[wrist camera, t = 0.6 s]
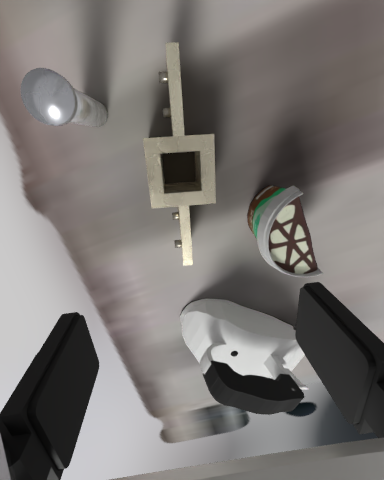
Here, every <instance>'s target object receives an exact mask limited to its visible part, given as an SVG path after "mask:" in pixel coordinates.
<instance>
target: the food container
mask: <svg viewBox="0 0 384 480" xmlns="http://www.w3.org/2000/svg"><path fill="white" fill-rule="evenodd" d="M302 194H303V193H302V192H300V190H299V189H298V188H296V187H295V186H294V185H293V186H291V187H289V188H287V189H286V188H281V187H277V186H272V185H269V186H267V187H266V188H264V189H262V190H261V191H260V192H259V193H258V194H257V195H256V196H255V197H254V199H253V201H252V202H251V204H250V206H249V210H248V214H247V218H248V225H249V227H250V229H251V231H252V232H253V234H254V235H255V237H256V238H257V244H258V247H259V251H260V253H261V255H262V257H263V258H264V259H265V261H266V262H267V263H268V264H269V265H271V266H272V267H274V268H275V269H277V270H279V271H280V272H282V273H284V274H287V275H291V276H295V277H313V276H317V275H320V274H323V272H321V271H320V270H319V269H318V267H317V263H316V261H315V257H314V253H313V248H312V242H311V236H310V233H309V230H308V227H307V224H306V220H305V217H304V213H303V210H302V206H301V202H300V198H299V196H300V195H302Z"/></svg>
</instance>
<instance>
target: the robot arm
mask: <svg viewBox="0 0 384 480" xmlns="http://www.w3.org/2000/svg"><path fill="white" fill-rule="evenodd" d="M295 337H296V341H297V343H298V345H299V346H300V348H301V349H302V351H303V352H304V354H305V356H306V357H307V359H308V360H309V362H310V364H311V365H312V367H313V368H314V370H315V372H316V373H317V375H318V376H319V378H320V379H321V381H322V383H323V384H324V386H325V387H326V389H327V391H328V392H329V394H330V395H331V397H332V399H333V400H334V402H335V403H336V405H337V407H338V408H339V409H340V411H341V413H342V414H343V416H344V418H345V419H346V421H347V422H348V423H349V424H353V425H354V427H355V428H356V430H357V431H358V433H359V434H365V433H372V432H374V433H375V434H376V436H377V437H378V438H377V439H370V440H362V441H354V442H346V443H339V444H332V445H326V446H319V447H313V448H306V449H299V450H293V451H286V452H280V453H273V454H267V455H260V456H255V457H247V458H241V459H235V460H229V461H222V462H216V463H209V464H203V465H197V466H190V467H184V468H178V469H172V470H166V471H159V472H153V473H147V474H142V475H135V476H130V477H123V478H117V479H111V480H384V343H383V342H382V341H381V340H380V339H379V338H378V337H377V336H376V335H375V334H374V333H372V332H371V331H370V330H369V329H368V328H367V327H366V326H365V325H364V324H363V323H362V322H361V321H360V320H359V319H358V318H357V317H356V316H355V315H354V314H353V313H351V312H350V311H349V310H348V309H347V308H346V307H345V306H344V305H343V304H342V303H341V302H340V301H339V300H338V299H337V298H336V297H335V296H334V295H333V294H332V293H330V292H329V291H328V290H327V289H326V288H325V287H324V286H323V285H322V284H321V283H319V282H315V283H307V284H305V285H304V287H303V288H301V289H300V295H299V304H298V313H297V323H296V332H295ZM98 369H99V360H98V357H97V354H96V351H95V348H94V345H93V342H92V339H91V336H90V333H89V330H88V327H87V324H86V321H85V318H84V316H83V315H80V314H79V313H77V312H75V313H68V314H62V315H61V317H60V318H59V320H58V322H57V323H56V325H55V326H54V328H53V330H52V331H51V333H50V335H49V337H48V338H47V340H46V341H45V343H44V344H43V346H42V348H41V350H40V351H39V352H38V354H37V355H36V356H35V358H34V359H33V361H32V363H31V364H30V366H29V368H28V369H27V371H26V372H25V374H24V376H23V377H22V379H21V380H20V382H19V384H18V385H17V387H16V389H15V390H14V392H13V393H12V395H11V397H10V398H9V400H8V402H7V403H6V405H5V406H4V408H3V410H2V411H1V413H0V480H60V479H61V476H62V473H63V470H64V469H65V468H67V467H68V466H69V464H70V461H71V458H72V455H73V452H74V448H75V445H76V442H77V438H78V435H79V432H80V429H81V425H82V422H83V419H84V416H85V413H86V409H87V406H88V403H89V399H90V396H91V393H92V389H93V386H94V383H95V380H96V376H97V373H98Z"/></svg>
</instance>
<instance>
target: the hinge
mask: <svg viewBox="0 0 384 480" xmlns="http://www.w3.org/2000/svg"><path fill="white" fill-rule="evenodd" d="M166 65H167V72H159V80H160V83H168V89H169V102H170V108H163V118H167V117H171V126H172V137H157V138H143V143H144V151H145V159H146V167H147V174H148V182H149V190H150V198H151V206H152V208H163V207H176V206H178V210H179V212H175V213H172V215H173V220H176V219H179V222H180V235H181V240H175V248H178V247H182V255H183V263H184V265H193V259H192V244H191V228H190V213H189V205H201V204H213V203H216V195H215V144H214V134H205V135H189V136H185V135H184V120H183V104H182V89H181V73H180V58H179V42H177V43H166ZM189 151H194V158H195V177H196V181H193V182H180V183H166V184H165V179H164V169H163V159H162V153H174V152H189Z"/></svg>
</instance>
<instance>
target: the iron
mask: <svg viewBox="0 0 384 480" xmlns="http://www.w3.org/2000/svg"><path fill="white" fill-rule="evenodd" d="M180 320H181V323H182V335H183V337H184V340H185V343H186V344H187V346H188V347H189V349H190V350H191V351H192V353H193V354H194V356H195V357H196V359H197V360H198V362H199V363H200V367H201V369H202V372H203V377H204V379H205V382H206V384H207V387H208V389H209V391H210V393H211V395H212V396H213V398H214V399H215V400H216V401H217V402H219V403H221V404H223V405H226V406H232V407H235V408H239V409H242V410H245V411H249V412H252V413H256V414H274V413H279V412H288V411H292V410H293V409H294V408H295V407H296V406H297V405H298V404H299V403H300V402H301V400H302V399H303V398H304V393H303V392H302V390H301V389H303V390H305V389H309V388H308V387H306V386H305V385H304V384H302V383H301V382H300V381H299V380H298V379H297V378H296V377H295V376H294V375H293V374H292V372H291V371H292V370H293V369H294V367H295V366H296V365H297V364H298V362H299V361H300V360H301V359H302V358H303V356H304V355H305V354H304V352H303V351H302V349H301V348H300V346H299V345H298V343H297V341H296V337H295V332H296V330H294V329H293V326H291V325H289V324H287V323H285V322H283V321H281V320H279V319H277V318H275V317H273V316H270V315H267V314H265V313H262V312H259V311H256V310H253V309H250V308H246V307H243V306H241V305H238V304H236V303H233V302H231V301H228V300H221V299H206V298H205V299H201V300H198V301H194V302H191V303H190V304H189V305H187V306H186V307H185V309H184V310H183V312H182V314H181V316H180ZM270 378H273V379H275V380H273V379H270Z"/></svg>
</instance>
